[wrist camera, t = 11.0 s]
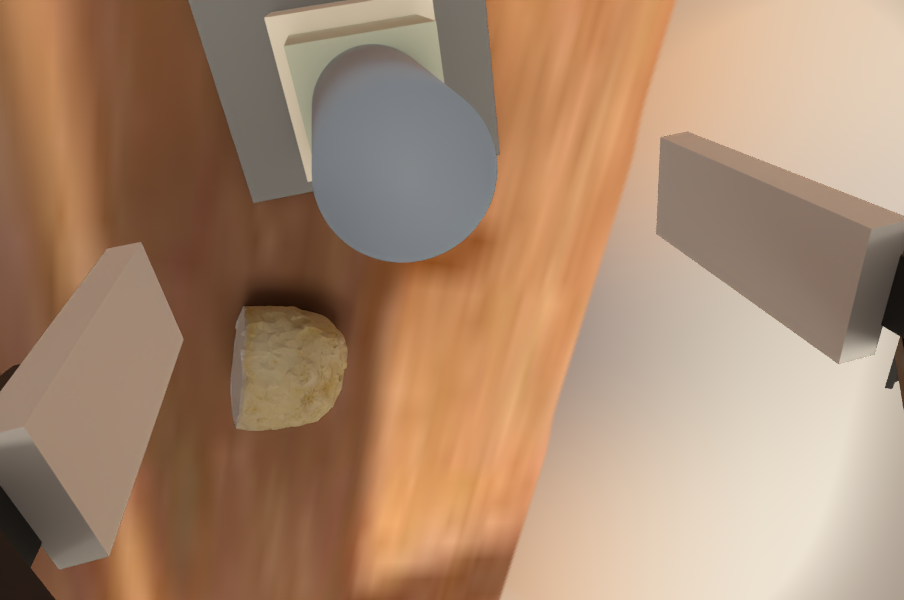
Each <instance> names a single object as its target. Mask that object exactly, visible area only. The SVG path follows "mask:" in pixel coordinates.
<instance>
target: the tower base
mask: <svg viewBox="0 0 904 600" xmlns="http://www.w3.org/2000/svg"><path fill="white" fill-rule="evenodd" d="M415 14H417V15H420V16H423V17H426V18H429V19H432V20H435V15H434V8H433V0H345V1H338V2H332V3H326V4H319V5H313V6H307V7H300V8H294V9H288V10H282V11H275V12H271V13H269V14H268V15H267V16H266V17H264V19H265V23H266V27H267V31H268V34H269V38H270V42H271V46H272V49H273V53H274V57H275V61H276V65H277V68H278V72H279V76H280V80H281V83H282V87H283V91H284V95H285V98H286V102H287V106H288V110H289V113H290V117H291V121H292V125H293V128H294V132H295V136H296V140H297V143H298V147H299V151H300V155H301V158H302V162H303V166H304V170H305V173H306V177H307V181H308V182H310V181H312V155H311V151H310V147H309V143H308V139H307V135H306V131H305V127H304V124H303V120H302V116H301V112H300V108H299V104H298V100H297V96H296V92H295V88H294V85H293V81H292V77H291V73H290V69H289V65H288V61H287V57H286V53H285V49H284V44H285V42H286V39H287V37H288V35H293V34H299V33H305V32H311V31H317V30H323V29H329V28H335V27H341V26H347V25H354V24H360V23H366V22H372V21H378V20H384V19H390V18H396V17H402V16H408V15H415Z"/></svg>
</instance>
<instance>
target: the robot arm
mask: <svg viewBox="0 0 904 600" xmlns="http://www.w3.org/2000/svg"><path fill="white" fill-rule="evenodd" d="M656 234H657V235H659V236H660V237H662V238H663V239H664V240H666V241H667V242H669V243H670V244H671V245H673V246H674V247H676V248H677V249H678V250H680V251H681V252H683V253H684V254H685V255H687V256H688V257H690V258H691V259H692V260H694V261H695V262H697V263H698V264H699V265H701V266H702V267H704V268H705V269H706V270H708V271H709V272H711V273H712V274H713V275H715V276H716V277H718V278H719V279H720V280H722V281H723V282H725V283H726V284H727V285H729V286H730V287H731V288H733V289H734V290H736V291H737V292H739V293H740V294H741V295H743V296H744V297H746V298H747V299H748V300H750V301H751V302H753V303H754V304H755V305H757V306H758V307H759V308H761V309H762V310H764V311H765V312H766V313H768V314H769V315H771V316H772V317H774V318H775V319H776V320H778V321H779V322H781V323H782V324H783V325H785V326H786V327H787V328H789V329H790V330H792V331H793V332H794V333H796V334H797V335H799V336H800V337H801V338H803V339H804V340H806V341H807V342H808V343H810V344H811V345H813V346H814V347H815V348H817V349H818V350H820V351H821V352H823V353H824V354H825V355H827V356H828V357H830V358H831V359H832V360H834V361H835V362H836V363H838V364H841V363H845V362H849V361H852V360H856V359H860V358H864V357H867V356H871V355H875V352H876V348H877V344H878V341H879V337H880V334H881V330H882V327H883V326H884V327H886V328H887V329H889V330H891V331H892V332H894V333H896V334H897V335H899V336H900V339H899V343H898V346H897V349H896V352H895V356H894V359H893V363H892V366H891V369H890V372H889V376H888V379H887V382H886V386H885V388H889V389H892V388H893V385H894V383H895V382H897V381H899V383H900V390H901V396H902V402H903V408H904V216H902V215H900V214H897V213H895V212H892V211H890V210H887V209H885V208H882V207H879V206H877V205H874V204H872V203H869V202H867V201H864V200H862V199H859V198H856V197H854V196H851V195H848V194H846V193H844V192H841V191H838V190H836V189H833V188H831V187H828V186H825V185H823V184H821V183H818V182H815V181H813V180H810V179H808V178H805V177H803V176H800V175H797V174H795V173H792V172H790V171H787V170H784V169H782V168H779V167H777V166H774V165H772V164H769V163H766V162H764V161H761V160H759V159H756V158H754V157H751V156H749V155H746V154H743V153H741V152H738V151H736V150H733V149H730V148H728V147H725V146H723V145H720V144H718V143H715V142H713V141H710V140H708V139H705V138H702V137H700V136H697V135H695V134H692V133H689V132H684V133H679V134H674V135H669V136H664V137H661V140H660V161H659V184H658V206H657V229H656ZM183 340H184V339H183V337H182V334H181V332H180V330H179V327H178V325H177V323H176V321H175V318H174V316H173V314H172V311H171V309H170V307H169V305H168V302H167V300H166V298H165V295H164V293H163V291H162V289H161V286H160V284H159V282H158V279H157V277H156V275H155V273H154V270H153V268H152V266H151V263H150V261H149V259H148V257H147V254H146V252H145V250H144V247H143V245H142V243H141V242H138V243H133V244H128V245H123V246H118V247H113V248H108V249H106V251H105V252H104V253H103V255H102V256H101V257H100V259H99V260H98V262H97V263H96V264H95V266H94V267H93V268H92V270H91V271H90V272H89V274H88V275H87V276H86V278H85V279H84V280H83V282H82V283H81V284H80V286H79V287H78V288H77V290H76V291H75V292H74V294H73V295H72V296H71V298H70V299H69V300H68V302H67V303H66V304H65V306H64V307H63V308H62V310H61V311H60V312H59V314H58V315H57V316H56V318H55V319H54V320H53V322H52V323H51V324H50V326H49V327H48V328H47V330H46V331H45V332H44V334H43V335H42V336H41V338H40V339H39V340H38V342H37V343H36V344H35V346H34V347H33V348H32V350H31V351H30V352H29V354H28V355H27V357H26V358H25V359H24V361H23V362H22V363H21V364H19V365H14V366H13V367H11V368H10V369H9V370H7V371H6V372H5V373H3V374H2V375H1V376H0V600H55V599H54V597H53V596H52V595H51V593H50V592H49V591H48V590H47V588H46V587H45V586H44V585H43V583H42V582H41V581H40V579H39V578H38V577H37V576H36V574H35V573H34V572H33V571H32V569H31V568H30V567H31V565H32V563H33V561H34V559H35V557H36V555H37V552H38V550H39V548H40V546H42V548H43V549H44V550H45V552H46V553H47V554H48V556H49V557H50V558H51V560H52V561H53V562H54V564H55V565H56V567H57V568H58V569H59V570H60V569H63V568H67V567H71V566H75V565H78V564H82V563H86V562H90V561H94V560H97V559H101V558H105V557H109V556H110V553H111V550H112V547H113V544H114V541H115V538H116V535H117V532H118V529H119V526H120V523H121V521H122V518H123V515H124V512H125V509H126V506H127V503H128V500H129V497H130V494H131V491H132V488H133V486H134V483H135V480H136V477H137V474H138V471H139V468H140V465H141V462H142V459H143V456H144V453H145V451H146V448H147V445H148V442H149V439H150V436H151V433H152V430H153V427H154V424H155V421H156V418H157V415H158V413H159V410H160V407H161V404H162V401H163V398H164V395H165V392H166V389H167V386H168V383H169V380H170V378H171V375H172V372H173V369H174V366H175V363H176V360H177V357H178V354H179V351H180V348H181V345H182V342H183Z"/></svg>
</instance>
